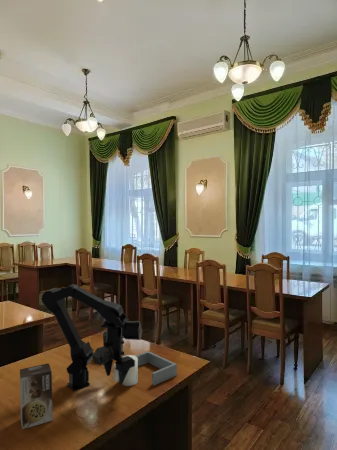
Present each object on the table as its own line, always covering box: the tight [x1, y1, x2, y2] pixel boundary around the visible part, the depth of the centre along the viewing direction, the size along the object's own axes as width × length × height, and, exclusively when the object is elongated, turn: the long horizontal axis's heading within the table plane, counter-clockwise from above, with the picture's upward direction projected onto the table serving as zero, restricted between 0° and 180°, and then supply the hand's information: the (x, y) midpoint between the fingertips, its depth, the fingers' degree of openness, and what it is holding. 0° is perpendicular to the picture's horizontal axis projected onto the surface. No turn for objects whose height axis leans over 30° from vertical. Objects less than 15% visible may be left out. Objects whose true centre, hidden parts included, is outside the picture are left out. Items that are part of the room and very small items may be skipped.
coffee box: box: [19, 363, 54, 430], centre depth 102 cm, size 9×6×16 cm
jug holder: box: [135, 350, 178, 386], centre depth 134 cm, size 12×18×4 cm, turn 43°
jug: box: [113, 354, 139, 387], centre depth 125 cm, size 10×7×9 cm
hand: (114, 379), depth 122 cm, fingers open, 8 cm apart
